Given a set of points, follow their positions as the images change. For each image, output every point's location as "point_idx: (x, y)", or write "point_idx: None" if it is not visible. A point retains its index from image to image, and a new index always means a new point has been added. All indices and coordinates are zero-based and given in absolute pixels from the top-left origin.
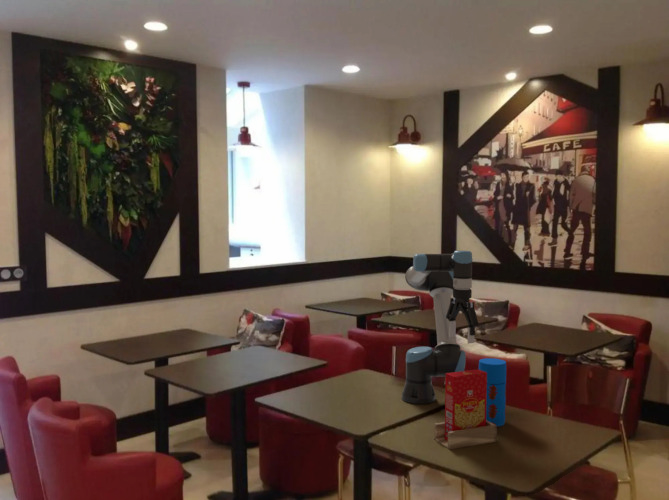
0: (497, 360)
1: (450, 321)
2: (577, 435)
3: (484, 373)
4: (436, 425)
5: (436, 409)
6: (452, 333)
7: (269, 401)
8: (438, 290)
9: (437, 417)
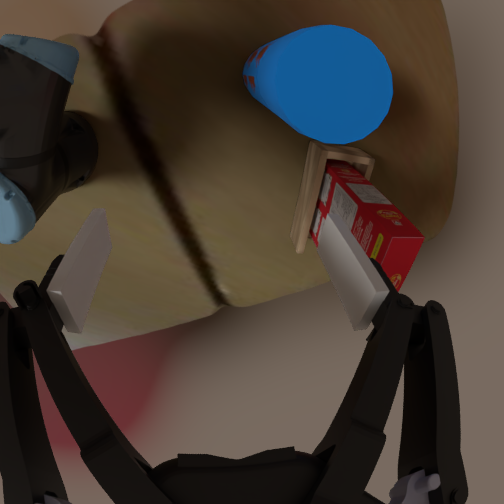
0: (338, 51)
1: (78, 331)
2: (411, 10)
3: (420, 243)
4: (302, 251)
5: (139, 142)
6: (102, 245)
7: None
8: None
9: (189, 168)
